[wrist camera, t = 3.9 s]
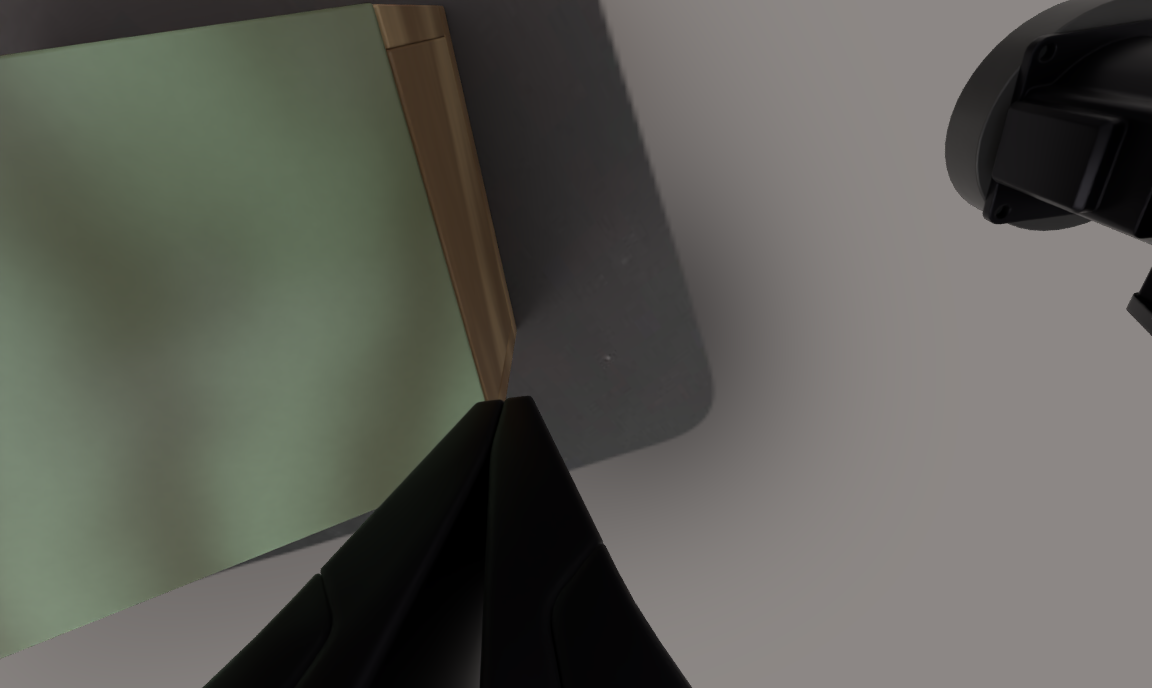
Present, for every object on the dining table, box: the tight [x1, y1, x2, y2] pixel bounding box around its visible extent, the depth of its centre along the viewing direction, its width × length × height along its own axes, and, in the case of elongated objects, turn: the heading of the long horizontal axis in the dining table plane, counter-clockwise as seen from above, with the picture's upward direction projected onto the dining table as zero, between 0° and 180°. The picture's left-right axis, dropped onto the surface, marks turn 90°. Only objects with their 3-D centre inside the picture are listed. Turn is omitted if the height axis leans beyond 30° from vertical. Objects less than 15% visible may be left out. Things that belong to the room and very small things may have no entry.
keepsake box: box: [373, 4, 517, 401], centre depth 17 cm, size 14×12×7 cm
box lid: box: [0, 3, 485, 659], centre depth 11 cm, size 14×12×1 cm
